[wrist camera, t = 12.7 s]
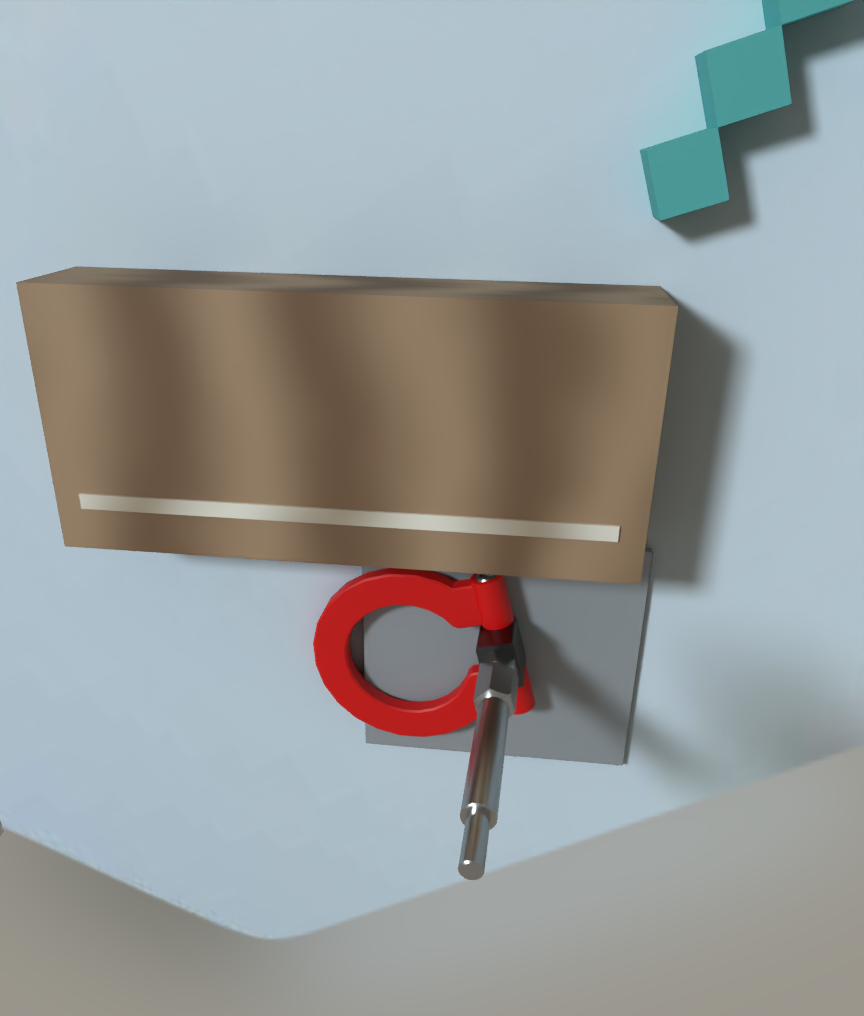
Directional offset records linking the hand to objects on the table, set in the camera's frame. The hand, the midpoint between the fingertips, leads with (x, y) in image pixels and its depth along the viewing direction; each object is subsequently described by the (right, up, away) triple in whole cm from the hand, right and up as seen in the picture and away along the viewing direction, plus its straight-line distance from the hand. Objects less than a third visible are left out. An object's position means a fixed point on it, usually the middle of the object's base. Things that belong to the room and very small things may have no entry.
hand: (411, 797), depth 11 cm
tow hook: (0, -2, +25) cm, 25 cm away
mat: (+3, -2, +25) cm, 25 cm away
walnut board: (-3, +8, +21) cm, 23 cm away
